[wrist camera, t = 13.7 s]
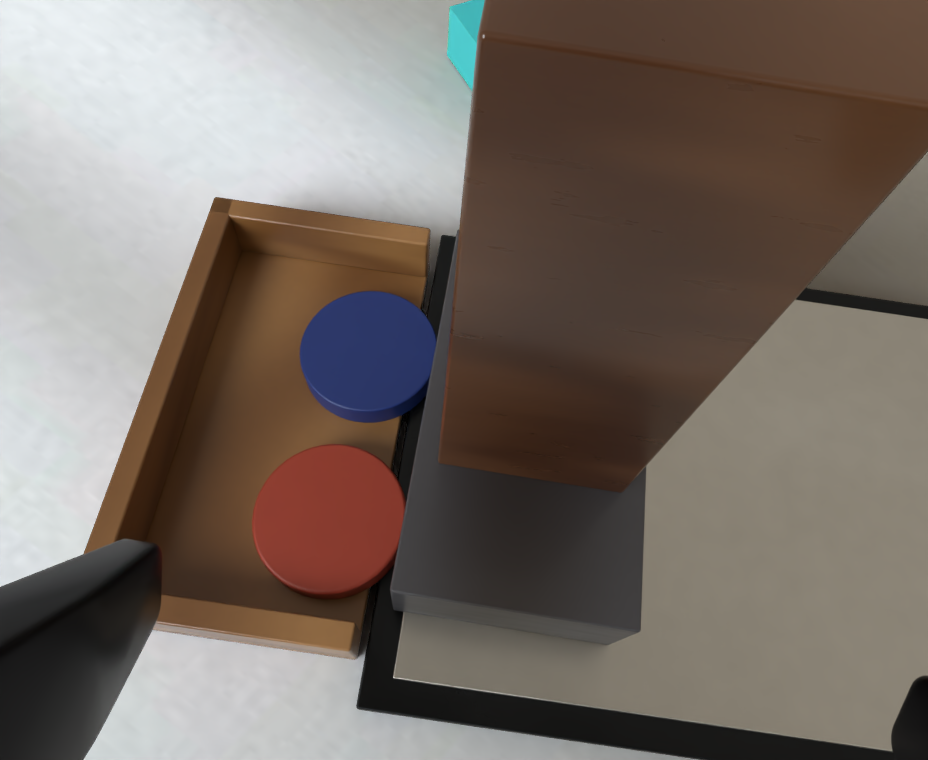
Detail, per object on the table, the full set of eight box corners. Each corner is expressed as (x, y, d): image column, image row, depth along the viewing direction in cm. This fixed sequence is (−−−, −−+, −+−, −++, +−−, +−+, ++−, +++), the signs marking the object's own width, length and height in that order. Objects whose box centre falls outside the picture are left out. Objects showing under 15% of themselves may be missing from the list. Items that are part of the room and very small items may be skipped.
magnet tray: (429, 269, 21) (431, 227, 19) (356, 660, 16) (350, 651, 15) (230, 240, 21) (214, 195, 19) (99, 622, 16) (61, 609, 15)
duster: (627, 311, 20) (922, -260, 8) (609, 645, 16) (1120, 436, 4) (452, 283, 20) (507, -323, 9) (392, 610, 16) (340, 310, 5)
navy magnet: (414, 439, 18) (413, 428, 18) (283, 402, 19) (277, 389, 18) (454, 324, 20) (454, 309, 19) (332, 292, 20) (328, 276, 20)
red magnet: (400, 605, 17) (398, 599, 16) (244, 594, 17) (236, 588, 16) (414, 459, 18) (414, 447, 17) (273, 448, 18) (267, 437, 17)
